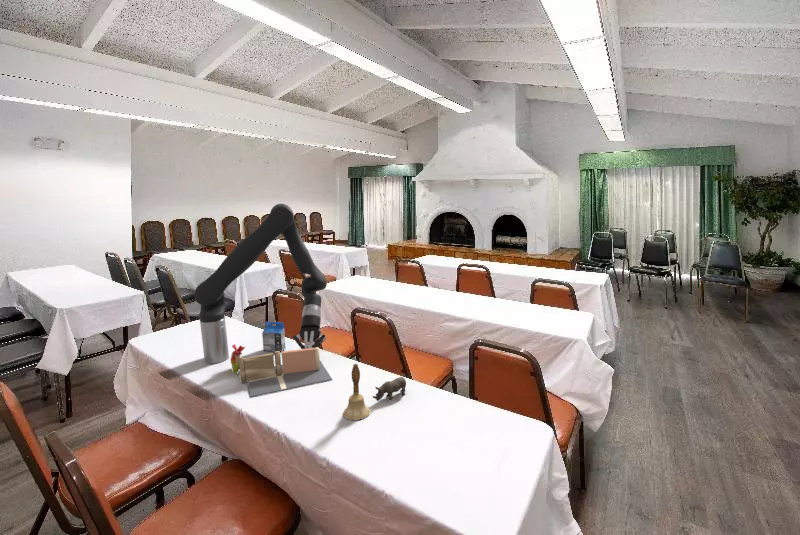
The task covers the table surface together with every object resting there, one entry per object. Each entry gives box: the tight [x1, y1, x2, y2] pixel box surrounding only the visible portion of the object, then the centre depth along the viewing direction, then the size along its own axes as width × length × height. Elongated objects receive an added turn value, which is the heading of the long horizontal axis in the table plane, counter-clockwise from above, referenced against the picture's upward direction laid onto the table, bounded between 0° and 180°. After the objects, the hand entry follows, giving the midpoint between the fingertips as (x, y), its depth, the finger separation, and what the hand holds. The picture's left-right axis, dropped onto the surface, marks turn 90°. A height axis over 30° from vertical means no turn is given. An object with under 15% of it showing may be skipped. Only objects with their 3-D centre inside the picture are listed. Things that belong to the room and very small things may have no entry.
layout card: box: [247, 360, 333, 398], centre depth 150 cm, size 21×28×1 cm
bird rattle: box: [230, 344, 246, 375], centre depth 154 cm, size 6×11×9 cm
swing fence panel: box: [281, 346, 321, 374], centre depth 151 cm, size 2×14×8 cm, turn 106°
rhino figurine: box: [372, 376, 407, 402], centre depth 133 cm, size 4×14×6 cm, turn 127°
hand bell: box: [342, 363, 371, 421], centre depth 123 cm, size 8×8×16 cm
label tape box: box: [261, 321, 287, 353], centre depth 174 cm, size 9×4×12 cm, turn 80°
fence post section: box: [239, 351, 282, 384], centre depth 147 cm, size 2×14×9 cm, turn 115°
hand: (307, 358), depth 153 cm, fingers closed
